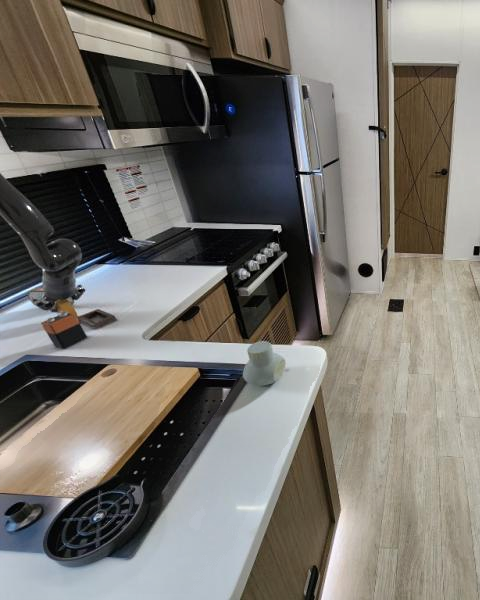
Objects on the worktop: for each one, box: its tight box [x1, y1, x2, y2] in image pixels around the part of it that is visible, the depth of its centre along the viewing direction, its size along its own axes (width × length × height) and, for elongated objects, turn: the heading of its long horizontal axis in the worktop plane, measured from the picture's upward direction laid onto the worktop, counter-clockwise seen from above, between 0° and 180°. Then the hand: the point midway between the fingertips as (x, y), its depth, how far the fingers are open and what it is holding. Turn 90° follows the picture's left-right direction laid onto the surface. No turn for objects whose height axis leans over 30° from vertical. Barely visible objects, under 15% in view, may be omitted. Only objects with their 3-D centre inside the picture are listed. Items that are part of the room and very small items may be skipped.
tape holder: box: [77, 308, 118, 330], centre depth 117 cm, size 6×12×2 cm, turn 63°
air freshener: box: [242, 340, 286, 387], centre depth 86 cm, size 11×8×10 cm
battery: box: [40, 311, 88, 350], centre depth 103 cm, size 4×7×10 cm, turn 163°
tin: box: [26, 286, 75, 307], centre depth 125 cm, size 15×3×8 cm, turn 88°
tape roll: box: [55, 300, 78, 319], centre depth 117 cm, size 3×8×8 cm, turn 63°
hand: (60, 308), depth 118 cm, fingers closed on tape roll, 3 cm apart
